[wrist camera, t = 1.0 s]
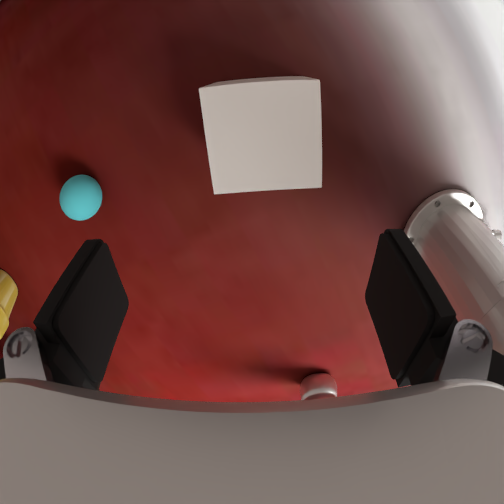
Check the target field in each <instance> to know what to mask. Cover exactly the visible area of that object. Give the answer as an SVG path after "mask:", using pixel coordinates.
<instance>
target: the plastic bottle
mask: <svg viewBox="0 0 504 504" xmlns="http://www.w3.org/2000/svg"><path fill="white" fill-rule="evenodd" d="M300 395H301V399H302V400H312V399H323V398H333V397H337V385H336V382H335V380H334V378H333V377H332V376H331V375H329V374H327V373H315V374H312V375H309V376H307V377H305V378H304V379H303V381H302V382H301V385H300Z"/></svg>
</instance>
